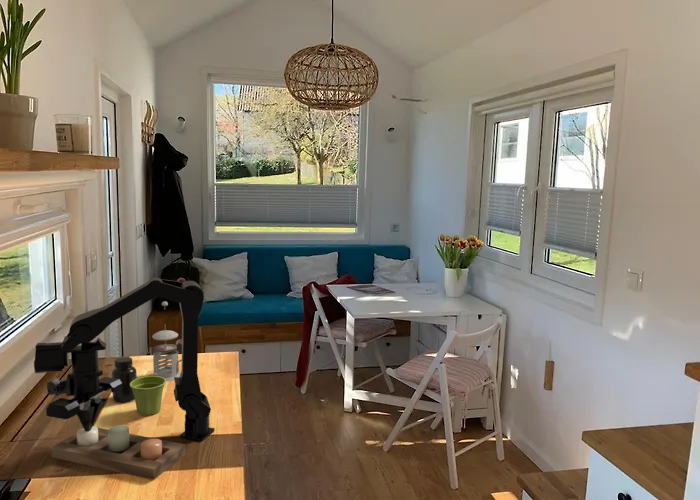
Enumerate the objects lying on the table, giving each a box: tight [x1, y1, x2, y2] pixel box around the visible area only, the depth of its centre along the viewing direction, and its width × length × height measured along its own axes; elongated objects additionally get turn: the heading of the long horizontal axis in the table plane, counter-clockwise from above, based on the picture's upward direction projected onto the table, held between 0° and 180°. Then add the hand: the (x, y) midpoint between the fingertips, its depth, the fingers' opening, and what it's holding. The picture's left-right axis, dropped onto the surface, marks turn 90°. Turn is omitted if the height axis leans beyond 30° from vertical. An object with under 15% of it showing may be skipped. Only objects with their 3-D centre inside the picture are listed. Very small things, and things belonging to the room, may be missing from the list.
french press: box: [150, 301, 182, 382], centre depth 183 cm, size 10×12×25 cm
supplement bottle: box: [111, 356, 138, 404], centre depth 165 cm, size 7×7×12 cm
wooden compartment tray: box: [50, 426, 186, 481], centre depth 133 cm, size 12×28×2 cm, turn 73°
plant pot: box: [130, 375, 167, 417], centre depth 157 cm, size 9×9×9 cm
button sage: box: [108, 424, 130, 453], centre depth 133 cm, size 5×5×4 cm
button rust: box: [141, 438, 162, 461], centre depth 130 cm, size 5×5×4 cm
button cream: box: [76, 425, 99, 447], centre depth 135 cm, size 5×5×4 cm
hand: (87, 430), depth 135 cm, fingers closed, pressing on button cream
